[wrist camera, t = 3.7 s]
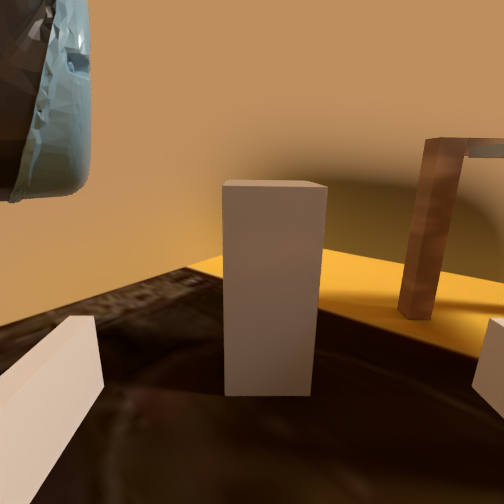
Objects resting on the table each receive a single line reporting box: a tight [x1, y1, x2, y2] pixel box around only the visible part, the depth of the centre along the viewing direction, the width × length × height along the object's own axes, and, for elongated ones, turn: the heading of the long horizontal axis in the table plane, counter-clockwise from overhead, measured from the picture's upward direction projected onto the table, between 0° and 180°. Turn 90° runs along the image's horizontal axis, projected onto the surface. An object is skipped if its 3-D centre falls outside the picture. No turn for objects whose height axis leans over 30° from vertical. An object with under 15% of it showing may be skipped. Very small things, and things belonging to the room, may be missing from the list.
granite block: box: [222, 180, 328, 396], centre depth 18 cm, size 5×5×12 cm
